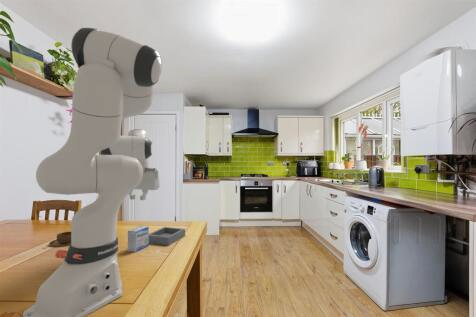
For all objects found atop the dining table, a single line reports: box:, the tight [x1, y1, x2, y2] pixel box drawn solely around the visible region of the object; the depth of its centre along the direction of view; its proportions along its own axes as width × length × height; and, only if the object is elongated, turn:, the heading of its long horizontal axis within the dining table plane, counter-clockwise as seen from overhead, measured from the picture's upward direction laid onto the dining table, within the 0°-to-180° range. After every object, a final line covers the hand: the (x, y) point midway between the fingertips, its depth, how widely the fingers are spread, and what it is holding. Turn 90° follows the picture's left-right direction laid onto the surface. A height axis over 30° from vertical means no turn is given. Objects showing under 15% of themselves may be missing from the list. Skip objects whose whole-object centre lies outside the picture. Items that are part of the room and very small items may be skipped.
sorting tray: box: [149, 226, 186, 247], centre depth 114 cm, size 12×14×4 cm
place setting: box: [42, 231, 71, 249], centre depth 105 cm, size 18×20×6 cm
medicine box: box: [127, 225, 150, 253], centre depth 102 cm, size 8×4×9 cm, turn 161°
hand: (137, 199), depth 102 cm, fingers open, 4 cm apart
